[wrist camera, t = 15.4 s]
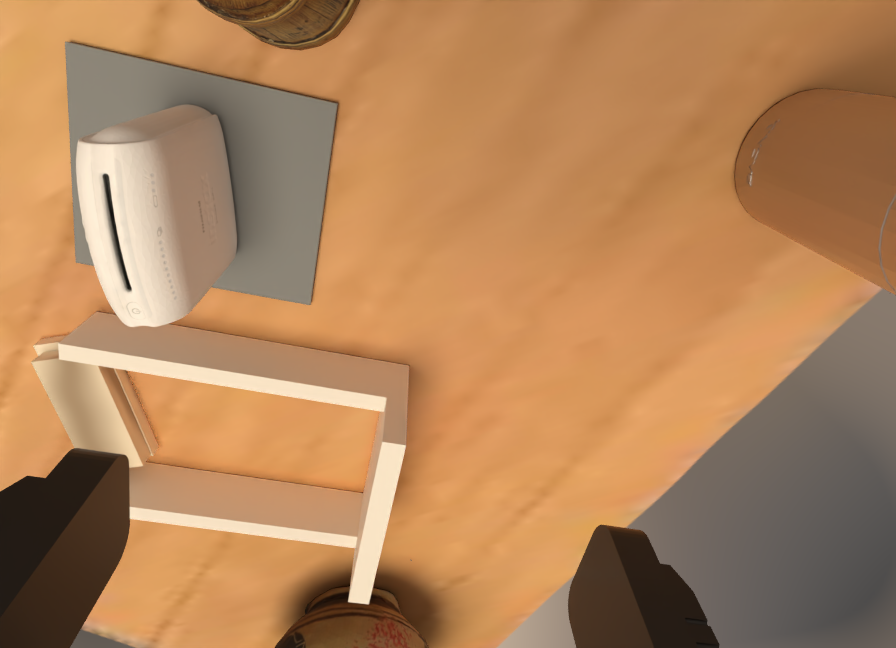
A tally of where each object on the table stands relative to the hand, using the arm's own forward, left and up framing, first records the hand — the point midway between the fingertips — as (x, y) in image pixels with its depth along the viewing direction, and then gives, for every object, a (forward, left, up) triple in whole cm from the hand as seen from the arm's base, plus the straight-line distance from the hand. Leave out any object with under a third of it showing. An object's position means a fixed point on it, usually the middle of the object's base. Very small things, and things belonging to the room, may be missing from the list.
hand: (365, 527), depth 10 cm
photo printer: (+13, +4, -32) cm, 35 cm away
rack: (+8, +22, -32) cm, 40 cm away
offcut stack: (+20, +22, -32) cm, 44 cm away
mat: (+13, +4, -32) cm, 35 cm away
